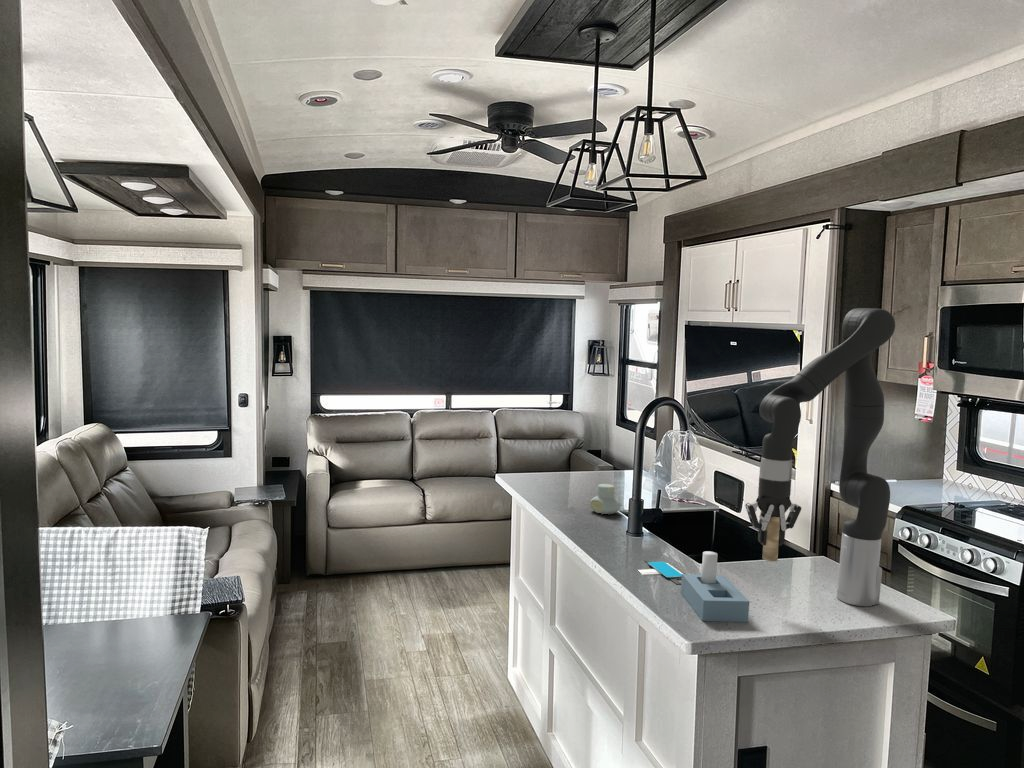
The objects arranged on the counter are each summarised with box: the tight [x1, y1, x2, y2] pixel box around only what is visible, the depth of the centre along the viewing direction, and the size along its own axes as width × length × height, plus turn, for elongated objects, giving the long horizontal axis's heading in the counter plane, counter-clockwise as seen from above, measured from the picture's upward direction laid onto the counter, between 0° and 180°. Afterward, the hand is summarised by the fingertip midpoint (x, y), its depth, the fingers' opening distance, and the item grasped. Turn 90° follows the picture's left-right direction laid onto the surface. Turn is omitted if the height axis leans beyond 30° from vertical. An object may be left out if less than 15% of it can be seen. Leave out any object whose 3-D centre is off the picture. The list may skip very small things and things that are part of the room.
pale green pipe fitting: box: [589, 483, 621, 515], centre depth 272 cm, size 11×8×10 cm
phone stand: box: [637, 558, 687, 585], centre depth 211 cm, size 20×12×2 cm, turn 16°
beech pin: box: [761, 517, 780, 563], centre depth 188 cm, size 4×4×11 cm
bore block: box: [680, 550, 751, 623], centre depth 186 cm, size 11×18×12 cm, turn 4°
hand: (770, 543), depth 188 cm, fingers closed on beech pin, 3 cm apart
